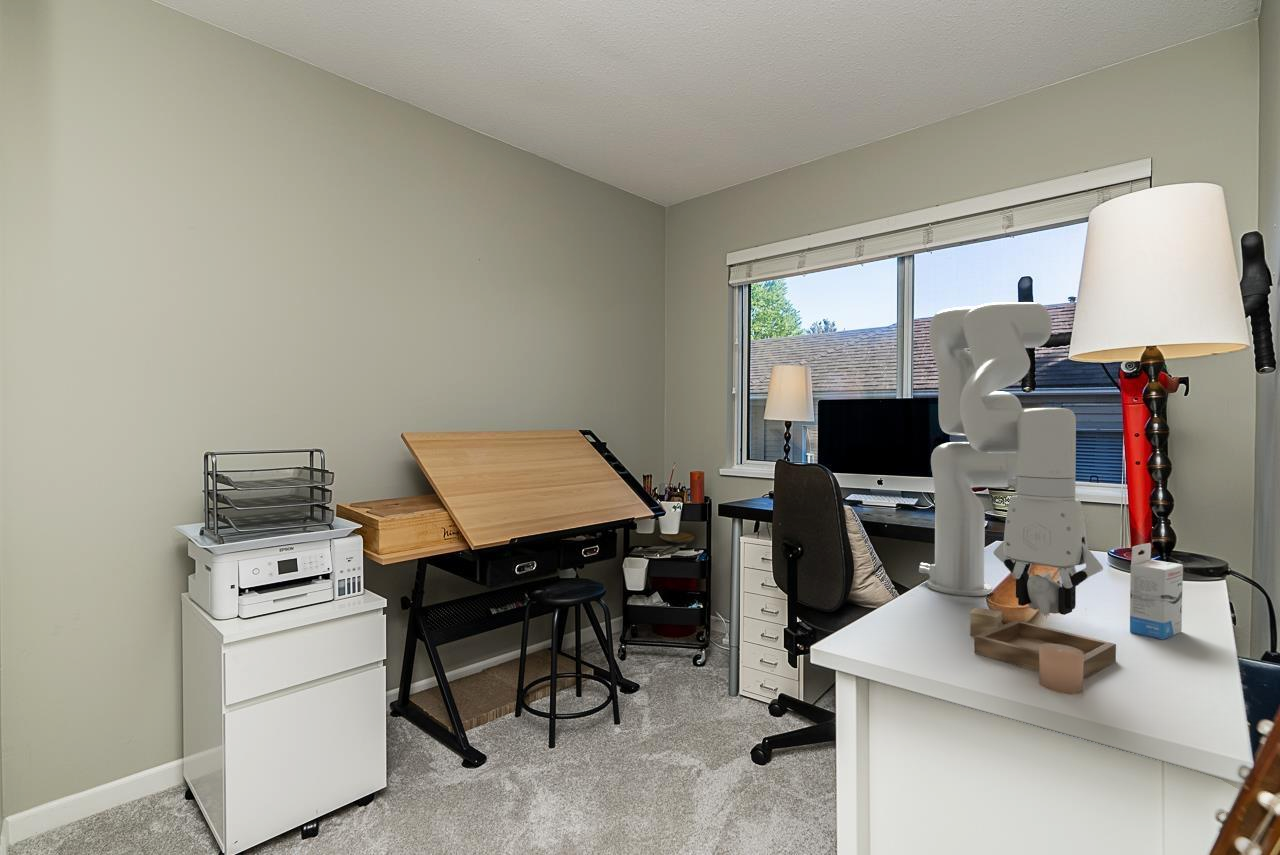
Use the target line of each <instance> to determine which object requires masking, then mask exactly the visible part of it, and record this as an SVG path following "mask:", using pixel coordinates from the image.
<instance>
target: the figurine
mask: <svg viewBox="0 0 1280 855" xmlns="http://www.w3.org/2000/svg"><path fill="white" fill-rule="evenodd" d="M1029 577H1030V578H1029V579H1028V582H1027V587H1028V595H1029V598H1030V600H1031V603H1030V604H1027V606H1028V607H1029V608H1030V609H1033V610H1036V611H1037V610H1039V611H1040V612H1041V614H1043V616H1044V617H1046V618H1048V616H1049V617H1051V616H1050V614H1060V613H1059V612H1058V595H1059V587H1062V585H1060V583H1058V582H1056V581H1055V580H1052V578H1051V577H1052V574H1050V573H1049V572H1048V573H1047V572H1045V573H1043V574H1040V575H1039V574H1035V572H1034V571H1031V576H1029Z"/></svg>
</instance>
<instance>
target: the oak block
mask: <svg viewBox="0 0 1280 855" xmlns="http://www.w3.org/2000/svg"><path fill="white" fill-rule="evenodd" d="M969 615H970V616H969V620H970V621H969V622H970V624H969V630H970V631H969V637H974V638H975V636H976V635H979V634H981V633H984V632H987V631H989V630H992V629H994V628H997V627H1000V626H1002V625H1003V612H1002V611H1000V610H999V611H998V610H994V609H987V608H982V607H981V608H980V607H975V608H973V609H972V610H971V611H970V614H969Z"/></svg>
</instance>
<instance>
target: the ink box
mask: <svg viewBox="0 0 1280 855" xmlns="http://www.w3.org/2000/svg"><path fill="white" fill-rule="evenodd" d="M1141 551H1142V552H1143V553H1142V554H1139V552H1141ZM1151 552H1152V543H1151V542H1148V543H1141V544H1138V545H1134V546H1132V547H1131V560H1130V561H1131V562H1130V563H1131V564H1130V592H1129V593H1130V595H1129V596H1130V597H1129V633H1133V634H1138V635H1141V636H1146V637H1149V638H1154V639H1159V640H1166V639H1168V638H1171V637H1173V636H1174V635H1177V634H1179V633H1181V632H1182V629H1183V628H1182V624H1183V622H1182V621H1183V580H1184V578H1183V577H1184V565H1183V564H1182V563H1176V562H1170V561H1168V562H1167V561H1162V560H1155V559H1151V555H1152V554H1151Z"/></svg>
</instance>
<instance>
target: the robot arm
mask: <svg viewBox="0 0 1280 855" xmlns="http://www.w3.org/2000/svg"><path fill="white" fill-rule="evenodd" d="M929 324H930V325H929V330H928V332H929V334H928V335H929V336H928V338H929V345H930V349H931V352H932V355H933V360H934V361H935V364H936V368H937V374H938V375H937V376H938V378H937V380H938V382H937V384H938V385H937V386H938V389H937V391H938V392H937V394H938V396H937V397H938V398H937V399H938V400H937V401H938V402H937V403H938V404H937V406H938V408H937V409H938V423H939V427H940V429H941V431H942V432H943V433H945V434H947V435H952V436H965V437H966V439H967V441H951V442H945V443H941V444H940V445H939V444H938V446H936V447H935V448H934V449H933V451H932V453H931V457H930V466H931V472H932V479H933V486H934V508H935V509H934V511H935V512H934V516H935V517H934V564H933V563H932V564H930V563H926V562H920V564H919V565H918V566H919V567H918V572H919V573H922V574H928V575H929V578H928V579H926V586H927V587H928V589H931V590H933V591H936V592H940V593H945V594H947V595H956V596H965V597H966V596H967V597H984V596H988V595H987V594H988V593H990V592H991V591H992V592H993V586H992V585H991V584H989V583H987V582H985V542H986V541H985V540H986V539H985V538H986V537H985V534H986V532H985V531H986V529H985V524H986V523H985V522H986V520H985V515H986V513H985V507H984V504H983V503H982V501H981V499H980V498H979V497H978V496H977V495H976V494H975V492H974V491H973V490H972V489H973V488H1013V489H1015V493H1016V494H1014V495H1011V496H1010V498H1009V501H1008V505H1007V510H1006V516H1005V517H1006V518H1005V524H1004V530H1003V531H1004V533H1003V534H1004V535H1003V541H1001V543H999V545H998V546H997V547H996V548H995V549H994V550H993V555H994V556H995V557H996V558H997V560H999V561H1000V562H1002V563H1003V564H1004V566H1005V567H1006V569H1007V570H1008V571H1009V572H1010V573H1011V575H1012V577H1013V579H1015V597H1016V599H1017V603H1018V606H1021V607H1024V606H1026V605H1027V606H1028V604H1030V603H1031V600H1030V598H1029V595H1028V587H1027V582H1028V579H1029V578H1030V577H1031V576H1030V575H1029V573H1030V570H1031V566H1032V565H1040V566H1045V567H1051V568H1057V569H1058V572H1059V573H1058V574H1059V575H1060V579H1061V587H1059V595H1058V612H1059V613H1058V614H1060V615H1063V616H1065V615H1068V614H1070V613H1072V612H1073V610H1074V609H1075V608H1076V595H1077V594H1076V588H1077V586H1079V585H1080V584H1081V583H1082V582H1084V581H1086V580H1087V579H1089V578H1090V577H1092V576H1094V575H1096V574H1098V573H1100V572H1102V571H1103V570H1104V567H1103V565H1102V564H1101V562H1100V561H1099V560H1098V559H1097V558H1096V556H1095V555H1094V554H1093V553H1092V552H1091V550H1090V549H1089V547H1088V538H1087V528H1086V521H1085V515H1084V510H1083V506H1082V501H1081V499H1077V498H1076V473H1077V472H1076V464H1077V463H1076V461H1077V460H1076V457H1077V456H1076V451H1077V445H1076V444H1077V437H1076V436H1077V432H1076V431H1077V421H1076V420H1077V419H1076V415H1075V413H1074V411H1072V410H1071V409H1069V408H1063V407H1023V406H1022V404H1021V402H1020V399H1019V398H1018V397H1017V395H1015V394H1014V393H1011V392H1007V391H1001V390H1003V389H1005V388H1007V387H1010V386H1013V385H1014V384H1016V383H1018V382H1019V381H1021V380H1022V379H1023V378H1025V377H1026V375H1027V374H1028V373H1029V370H1030V367H1031V360H1030V357H1029V355H1028V352H1027V350H1026V349H1034V348H1039V347H1042V346H1044V345H1045V344H1046V343H1047V342H1048V341H1049V339H1050V337H1051V334H1052V330H1053V321H1052V317H1051V314H1050V312H1049V310H1048V309H1047V308H1046V307H1045V306H1044V305H1043V304H1041V303H1039V302H1032V301H1029V302H1028V301H1026V302H1025V301H1024V302H1022V301H1021V302H1019V301H1018V302H990V303H984V304H981V305H977V306H963V307H953V308H947V309H943V310H940V311H939V312H937V313H935V314H934V316H932V318H931V320H930V323H929ZM967 349H969V351H968V350H967ZM1080 565H1085V567H1084V568H1083V569H1081V570H1078V571H1077V569H1076V566H1080Z"/></svg>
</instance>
